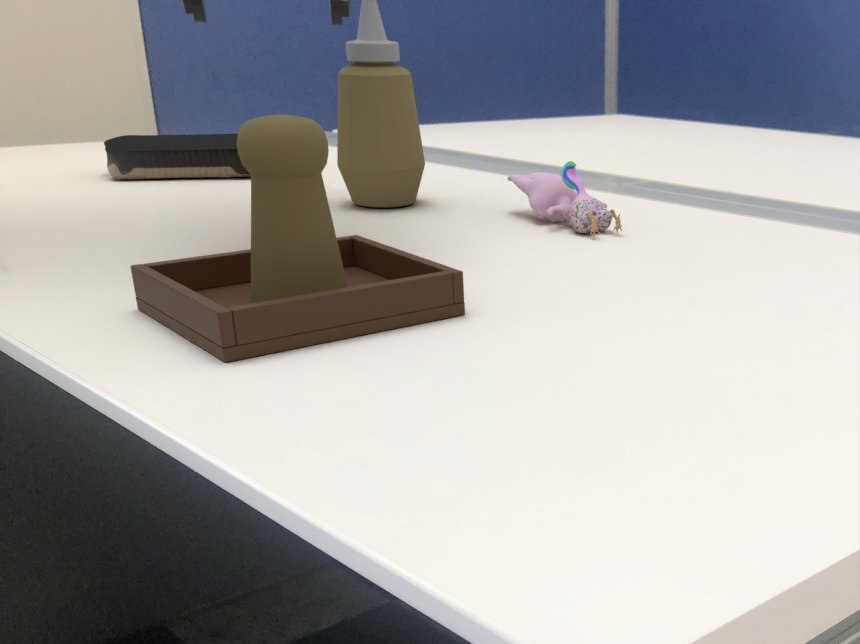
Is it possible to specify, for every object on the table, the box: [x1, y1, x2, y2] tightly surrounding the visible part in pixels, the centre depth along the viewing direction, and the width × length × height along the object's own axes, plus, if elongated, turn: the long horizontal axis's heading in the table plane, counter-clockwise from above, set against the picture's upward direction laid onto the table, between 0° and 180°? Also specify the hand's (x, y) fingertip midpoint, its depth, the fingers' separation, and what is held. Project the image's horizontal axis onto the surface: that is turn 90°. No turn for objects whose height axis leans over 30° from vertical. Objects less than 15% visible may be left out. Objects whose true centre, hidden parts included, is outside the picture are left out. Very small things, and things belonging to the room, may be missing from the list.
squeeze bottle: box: [336, 0, 426, 209], centre depth 98 cm, size 8×8×18 cm
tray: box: [130, 234, 466, 363], centre depth 67 cm, size 16×14×3 cm
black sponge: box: [103, 133, 251, 180], centre depth 114 cm, size 16×8×4 cm, turn 104°
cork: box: [237, 114, 348, 303], centre depth 65 cm, size 6×6×11 cm
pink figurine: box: [507, 160, 624, 238], centre depth 94 cm, size 6×6×15 cm
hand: (269, 14), depth 69 cm, fingers open, 8 cm apart
